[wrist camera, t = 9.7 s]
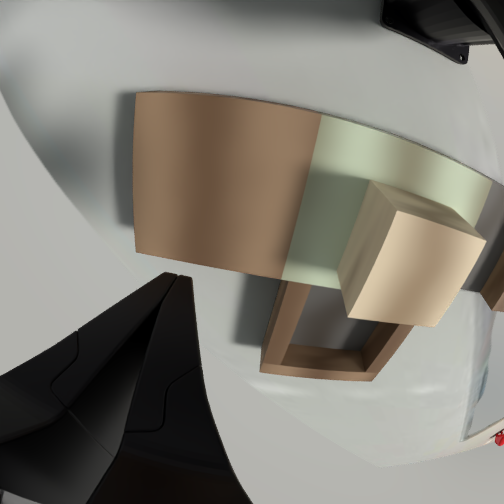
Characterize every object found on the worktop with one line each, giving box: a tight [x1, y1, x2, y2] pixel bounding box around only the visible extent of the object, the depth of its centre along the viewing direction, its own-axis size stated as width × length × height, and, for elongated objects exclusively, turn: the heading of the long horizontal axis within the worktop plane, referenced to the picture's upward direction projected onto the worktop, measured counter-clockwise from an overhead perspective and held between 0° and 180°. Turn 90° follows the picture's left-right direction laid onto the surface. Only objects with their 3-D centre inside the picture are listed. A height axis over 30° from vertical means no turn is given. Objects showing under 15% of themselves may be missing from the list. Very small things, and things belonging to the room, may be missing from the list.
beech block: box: [337, 180, 487, 327], centre depth 14 cm, size 6×6×4 cm
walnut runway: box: [133, 91, 504, 381], centre depth 19 cm, size 34×20×3 cm, turn 81°
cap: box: [495, 432, 504, 446], centre depth 51 cm, size 8×6×6 cm
